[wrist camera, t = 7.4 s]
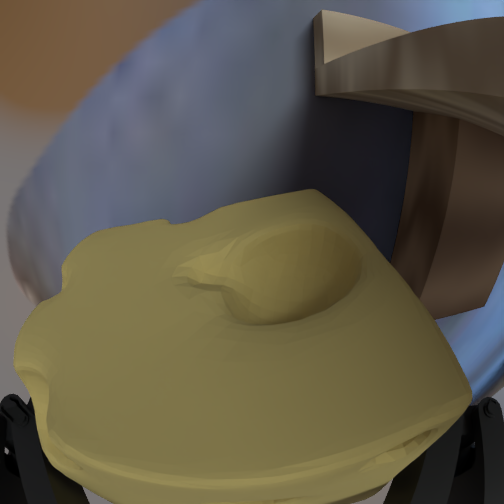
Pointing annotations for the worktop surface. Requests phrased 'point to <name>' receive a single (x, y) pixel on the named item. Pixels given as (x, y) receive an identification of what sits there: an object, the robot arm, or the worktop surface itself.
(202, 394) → the cheese
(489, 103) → the wall board
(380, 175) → the worktop surface
